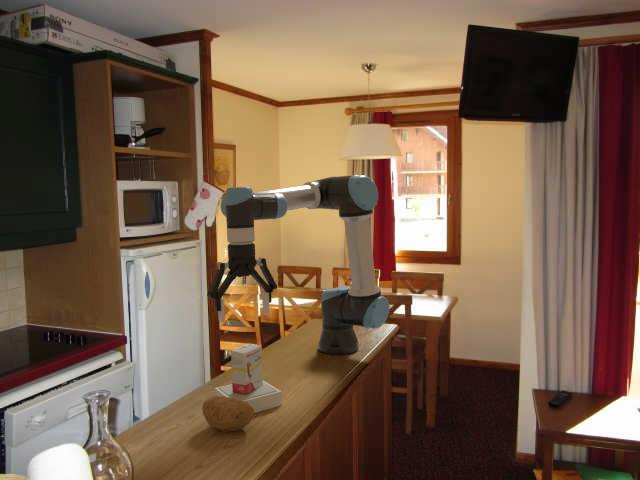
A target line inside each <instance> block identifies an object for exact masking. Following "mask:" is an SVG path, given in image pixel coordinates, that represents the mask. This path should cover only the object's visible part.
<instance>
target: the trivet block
mask: <svg viewBox="0 0 640 480" xmlns="http://www.w3.org/2000/svg"><path fill="white" fill-rule="evenodd" d="M214 395H215V396H222V397H229V398H235V399H238V400H241V401H245V402H248V403H249V404H250V405H251V406H252V407H253V409H254V414H255V413H259V412H261V411H266V410H270V409H274V408H277V407H279V406H283V403H282V402H283V401H282V400H283V399H282V390H280V389H278V388H276V387H275V386H273V385H272V384H270V383H269V382H267V381H265V380H263V385H262V386H260V387H258V388H257V389H255V390H253V391H252V392H250V393H248V394H247V395H245V394H240V393H235V392H232V383H230V384H226V385H223V386H221V385H220V386H218V387H214Z"/></svg>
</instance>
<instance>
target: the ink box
mask: <svg viewBox="0 0 640 480" xmlns="http://www.w3.org/2000/svg"><path fill="white" fill-rule="evenodd" d="M262 349H263V348H262V345H257V344H253V343H246V344H244V345H241V346H238V347H237V348H235V349H232V350H231V353H230V356H231V358H230V359H231V384H232V392H235V393H240V394H245V395H247V394H248V393H250V392H252V391H253V390H255V389H257V388H258V387H260V386H262V385H263V377H264V376H263V359H262V358H263V355H262V354H263V352H262Z"/></svg>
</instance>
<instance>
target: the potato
mask: <svg viewBox="0 0 640 480" xmlns="http://www.w3.org/2000/svg"><path fill="white" fill-rule="evenodd" d="M201 409H202V414H203V416H204V418H205V420H206V422H207V424H208V425H209V426H211V427H213V428H215V429H217V430H219V431H221V432H224V433H229V432H234V431H238V430H241V429H244V428H245V427H247V426H248V425H249V424H250V423H251V422H252V421H253V419H254V416H255V413H254V409H253V407H252V406H251V405H250V404H249V403H248V402H245V401H241V400H238V399H235V398H229V397H222V396H211V397H208V398H207V399H206V400H205V401H204V402H203V403H202V407H201Z"/></svg>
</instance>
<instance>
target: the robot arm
mask: <svg viewBox="0 0 640 480" xmlns="http://www.w3.org/2000/svg"><path fill="white" fill-rule="evenodd" d="M224 194H225V195H224V196H223V198H222V200H221V201H220V210H221V211H220V212H221V214H222V215H223V216H224V217H225V218H226V239H227V240H226V241H227V243H229V244H228V245H227V256H228V257H227V259H228V260H227V262H222V261H221V262H220V261H219V262H217V266H216V272H215V274H214V277H213V280H212V282H211V285H210V287H209V289H208V292H207V294H206V296H207V298H208V297H209V298H211V299H213V300H214V309H215V311H216V312H217V313H218V314H217V315H218V322H219V323H221V324H226V311H225V299H224V298H222V297H223V296H224V295H225V293H226V292H227V290H228V289H229V287H230V286H231V284H232V283H233V281H234V280H236V279H237V277H238V278H242V277H249V276H251V277H252V278H253V279H254V281H256V282H257V284H259V286H260V287H261V289H263V290H264V291H263V290H262V291H261V297H262V298H261V299H262V300H261V302H262V315H265V316H270V314H271V313H270V304H271V303H272V293H273V292H274V290H276V289H278V285H277V283H276V281H275V279H274V277H273V275H272V273H271V271H270V269H269V268H268V265H267V260H266V258H264V257H258V259H257V258H256V244H255V243H254V242H255V240H256V237H255V221H260V220H261V221H262V220H276V219H282V218H283V217H284V216H285V215H286V214H287V212H288V211H293V210H298V209H305V208H306V209H308V210H315V209H317V210H318V209H321V210H322V209H324V210H336V211H338V216H339V218H340V219H342V220H343V222H344V229H345V231H344V232H345V238H346V239H345V240H346V248H347V256H348V265H349V273H350V275H349V276H350V282H351V283H350V284H351V286H339V287H333V288H328V289H325V290H323V291H322V293H321V300H320V302H321V303H320V304H321V305H320V306H321V320H322V329H321V333H320V337H319V341H318V344H317V345H318V350H319V351H320V353H324V354H327V355H347V354H352V353H355V352H357V351H358V350H359V341H358V338H357V335H356V332H355V329H354V326H355V327H360V328H361V327H362V328H365V329H375V330H376V329H379V328H381V327H382V326H383V325H384V324H385V322H387V319H388V316H389V314H390V301H389V299H387V297H385V296H383V295H382V291H381V287H380V286H379V285H377V281H376V275H375V274H376V273H375V266H374V265H375V264H374V254H373V246H372V245H373V244H372V236H371V235H372V234H371V226H370V224H371V223H370V217H372V215H373V213H374V212H373V211H374V210H373V209H375V207H377V205H378V201H379V191H378V187H377V184H376V183H375V181H374V180H372V178H371V177H369V176H366V175H360V174H354V175H342V176H329V177H325V178H321V179H316V180H312V181H307V182H305V183H303V184H302V185H298V186H297V185H295V186H289V187H281V188H273V189H267V190H258V191H253V188H252V186H251V187H250V186H236V187H234V186H233V187H232V186H230V187H228V188H226V190H225V193H224ZM256 266H258V267H259V269H260V271H261V273H262V274H263V277H264V278H265V280H264V278H263V277H262V276H261V275H260V274H259V272H258V271H257V270H256ZM227 269H228V270H229V271H228V272H227V274H226V277H225V278H224V280H223V277H224V274H225V271H226V270H227ZM222 280H223V281H222Z"/></svg>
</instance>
